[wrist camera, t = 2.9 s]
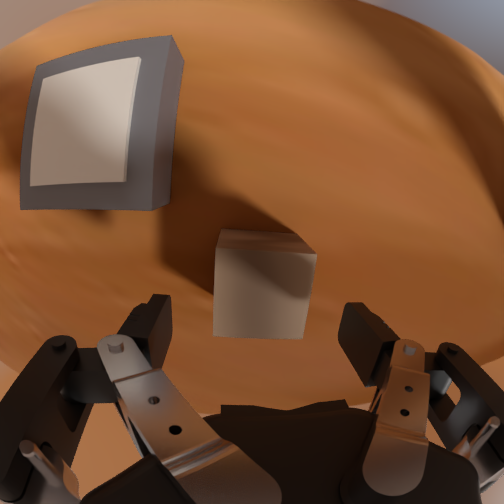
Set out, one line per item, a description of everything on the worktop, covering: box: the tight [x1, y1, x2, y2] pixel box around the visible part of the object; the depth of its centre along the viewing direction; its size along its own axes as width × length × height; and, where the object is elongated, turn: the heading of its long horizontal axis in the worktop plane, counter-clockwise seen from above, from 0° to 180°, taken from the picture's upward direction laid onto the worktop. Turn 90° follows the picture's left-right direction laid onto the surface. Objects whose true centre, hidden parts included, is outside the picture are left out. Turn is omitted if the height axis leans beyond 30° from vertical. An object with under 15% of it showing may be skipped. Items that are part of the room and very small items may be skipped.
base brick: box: [20, 35, 184, 211], centre depth 13 cm, size 10×10×4 cm
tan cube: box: [213, 228, 317, 339], centre depth 16 cm, size 5×5×5 cm
